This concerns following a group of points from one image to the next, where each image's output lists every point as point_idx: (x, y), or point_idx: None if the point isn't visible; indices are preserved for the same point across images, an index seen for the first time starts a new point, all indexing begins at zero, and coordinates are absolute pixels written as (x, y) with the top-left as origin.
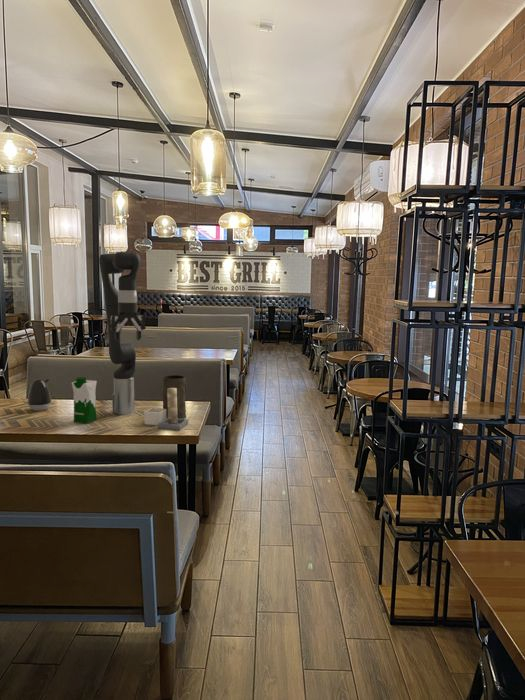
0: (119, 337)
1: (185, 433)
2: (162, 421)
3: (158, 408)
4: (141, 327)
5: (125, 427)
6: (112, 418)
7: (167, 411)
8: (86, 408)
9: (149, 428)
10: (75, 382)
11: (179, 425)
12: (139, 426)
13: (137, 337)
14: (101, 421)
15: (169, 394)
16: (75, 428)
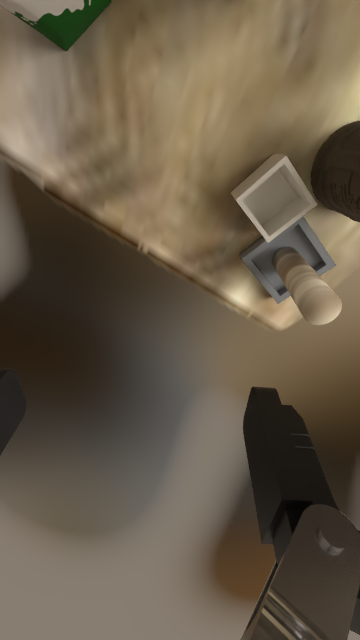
0: (5, 444)
1: (275, 315)
2: (265, 245)
3: (300, 182)
4: (358, 631)
5: (173, 182)
6: (171, 20)
7: (325, 190)
8: (42, 29)
9: (226, 231)
10: None
11: (278, 301)
12: (212, 196)
13: (251, 432)
14: (122, 46)
15: (298, 307)
16: (27, 96)
